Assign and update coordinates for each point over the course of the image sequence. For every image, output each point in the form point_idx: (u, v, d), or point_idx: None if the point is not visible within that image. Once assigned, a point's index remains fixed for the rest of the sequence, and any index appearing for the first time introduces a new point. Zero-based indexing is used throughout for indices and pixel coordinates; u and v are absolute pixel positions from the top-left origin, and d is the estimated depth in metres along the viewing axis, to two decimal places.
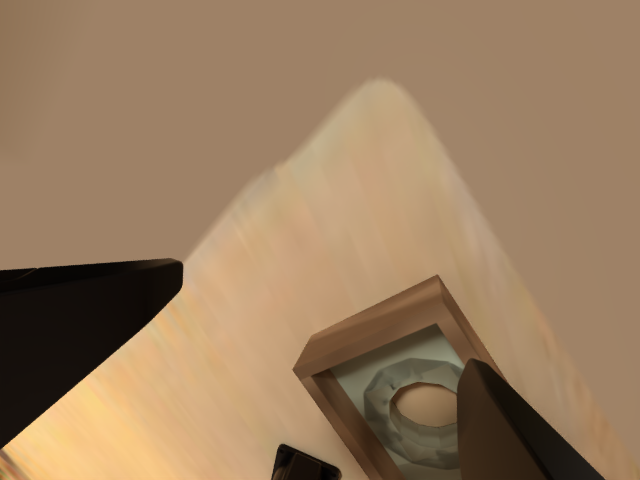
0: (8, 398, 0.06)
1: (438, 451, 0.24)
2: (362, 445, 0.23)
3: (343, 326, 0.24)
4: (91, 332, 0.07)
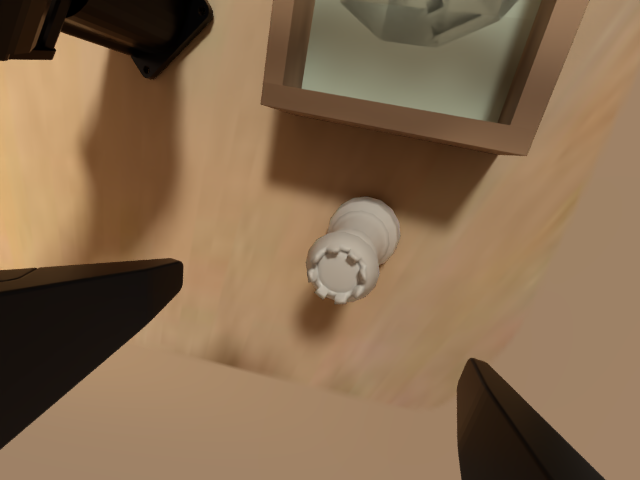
0: (8, 398, 0.06)
1: None
2: None
3: None
4: (91, 332, 0.07)
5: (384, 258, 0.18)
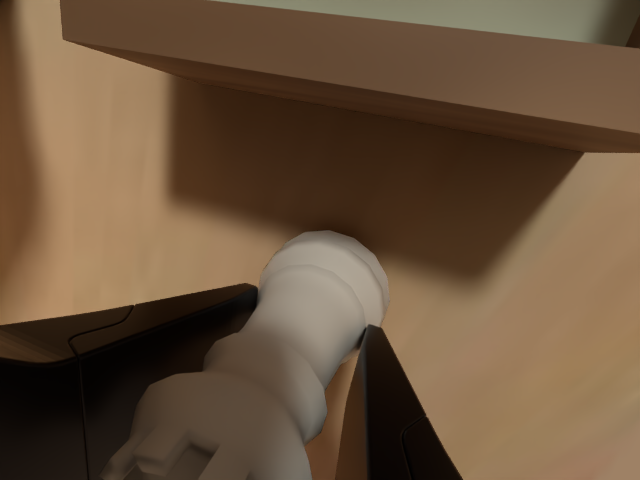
0: (111, 451, 0.06)
1: None
2: None
3: None
4: (185, 371, 0.07)
5: (358, 349, 0.10)
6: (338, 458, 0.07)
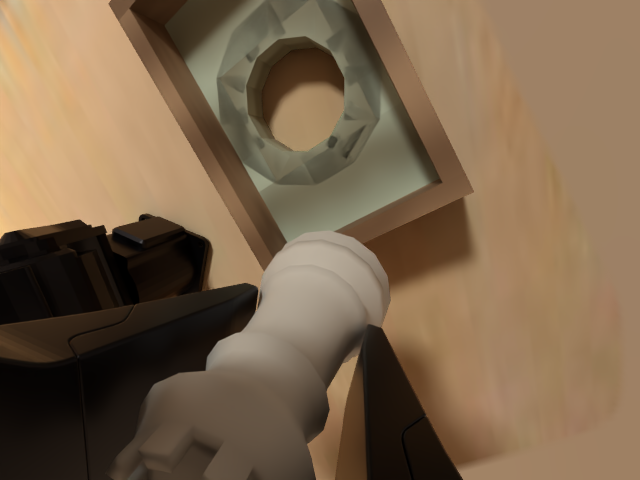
0: (111, 451, 0.06)
1: (305, 155, 0.18)
2: (200, 125, 0.17)
3: None
4: (185, 371, 0.07)
5: None
6: (338, 458, 0.07)
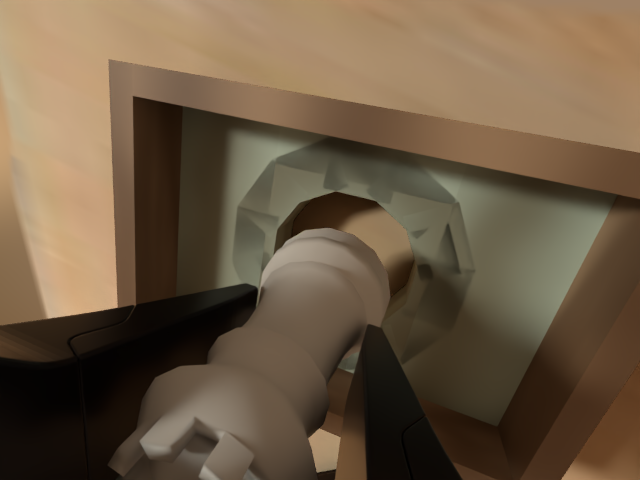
0: (111, 451, 0.06)
1: (407, 310, 0.13)
2: None
3: None
4: None
5: (360, 345, 0.10)
6: (338, 458, 0.07)
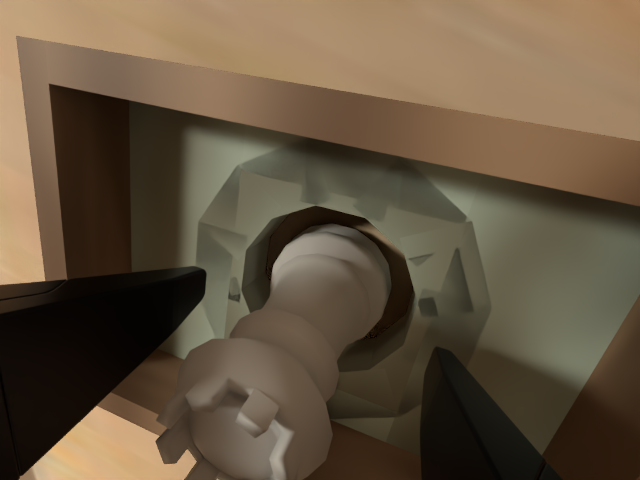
0: (39, 414, 0.06)
1: (405, 352, 0.10)
2: None
3: None
4: (120, 344, 0.07)
5: (365, 330, 0.10)
6: None
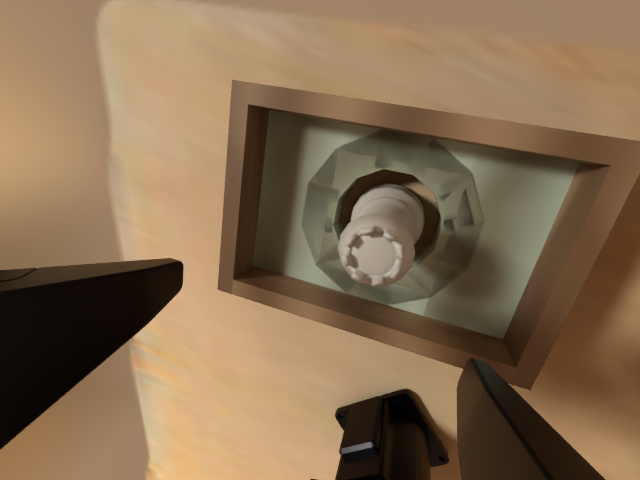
0: (8, 398, 0.06)
1: (435, 254, 0.17)
2: (342, 310, 0.18)
3: None
4: (91, 332, 0.07)
5: None
6: None
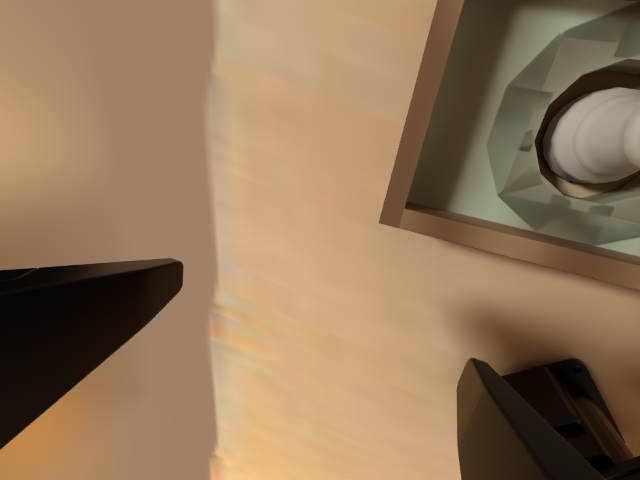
0: (8, 398, 0.06)
1: None
2: (559, 245, 0.14)
3: None
4: (91, 332, 0.07)
5: None
6: None
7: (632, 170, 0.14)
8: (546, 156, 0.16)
